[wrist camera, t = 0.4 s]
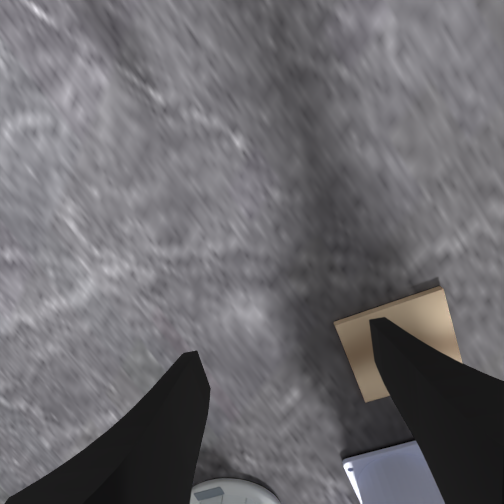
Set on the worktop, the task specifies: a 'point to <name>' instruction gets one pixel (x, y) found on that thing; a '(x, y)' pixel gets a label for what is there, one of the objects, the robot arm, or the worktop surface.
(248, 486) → the plate
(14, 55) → the worktop surface
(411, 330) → the mat
